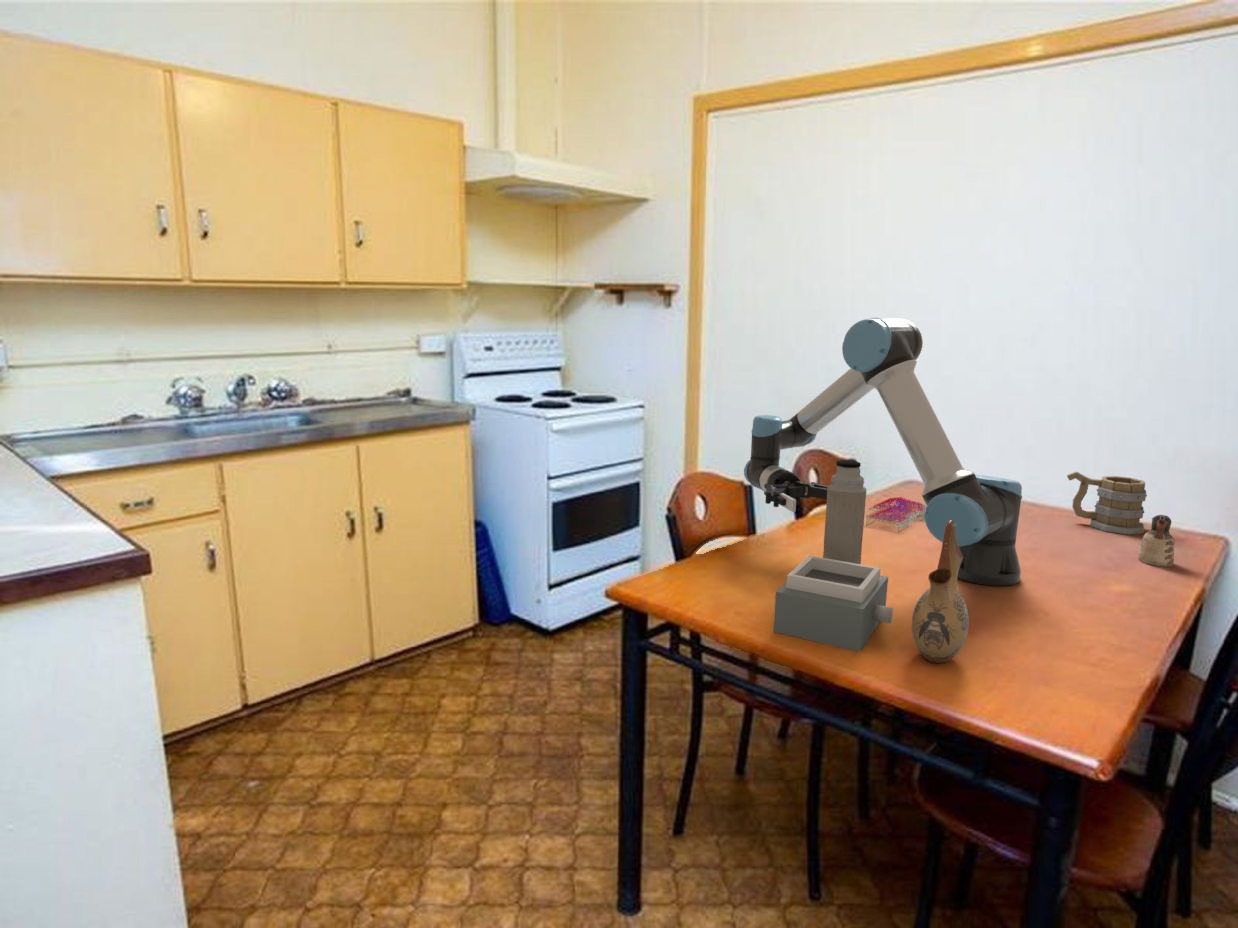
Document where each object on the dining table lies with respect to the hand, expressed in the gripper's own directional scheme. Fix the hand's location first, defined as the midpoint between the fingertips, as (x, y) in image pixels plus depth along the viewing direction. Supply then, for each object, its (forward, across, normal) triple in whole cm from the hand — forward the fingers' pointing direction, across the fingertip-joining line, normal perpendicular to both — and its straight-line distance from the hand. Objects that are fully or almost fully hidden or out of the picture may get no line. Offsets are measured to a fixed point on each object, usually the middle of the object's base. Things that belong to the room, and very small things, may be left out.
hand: (821, 504), depth 176 cm
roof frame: (-38, -46, -17) cm, 62 cm away
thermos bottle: (+10, 0, -16) cm, 19 cm away
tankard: (-19, -100, -16) cm, 103 cm away
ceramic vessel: (+45, +1, -16) cm, 48 cm away
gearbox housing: (+29, +11, -16) cm, 35 cm away
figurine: (+11, -86, -16) cm, 88 cm away
